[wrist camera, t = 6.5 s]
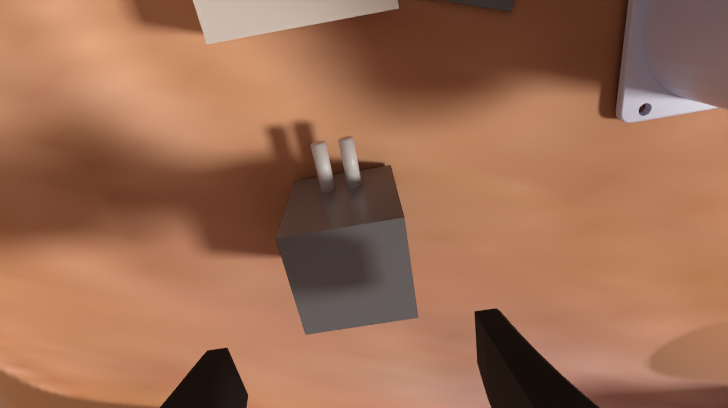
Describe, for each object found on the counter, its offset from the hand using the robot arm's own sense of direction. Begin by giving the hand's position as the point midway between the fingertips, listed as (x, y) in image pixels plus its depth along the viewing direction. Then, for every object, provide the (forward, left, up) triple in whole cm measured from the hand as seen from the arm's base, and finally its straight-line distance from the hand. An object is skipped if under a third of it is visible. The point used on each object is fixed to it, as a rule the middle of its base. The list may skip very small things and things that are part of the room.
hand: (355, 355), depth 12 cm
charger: (0, -1, -8) cm, 8 cm away
